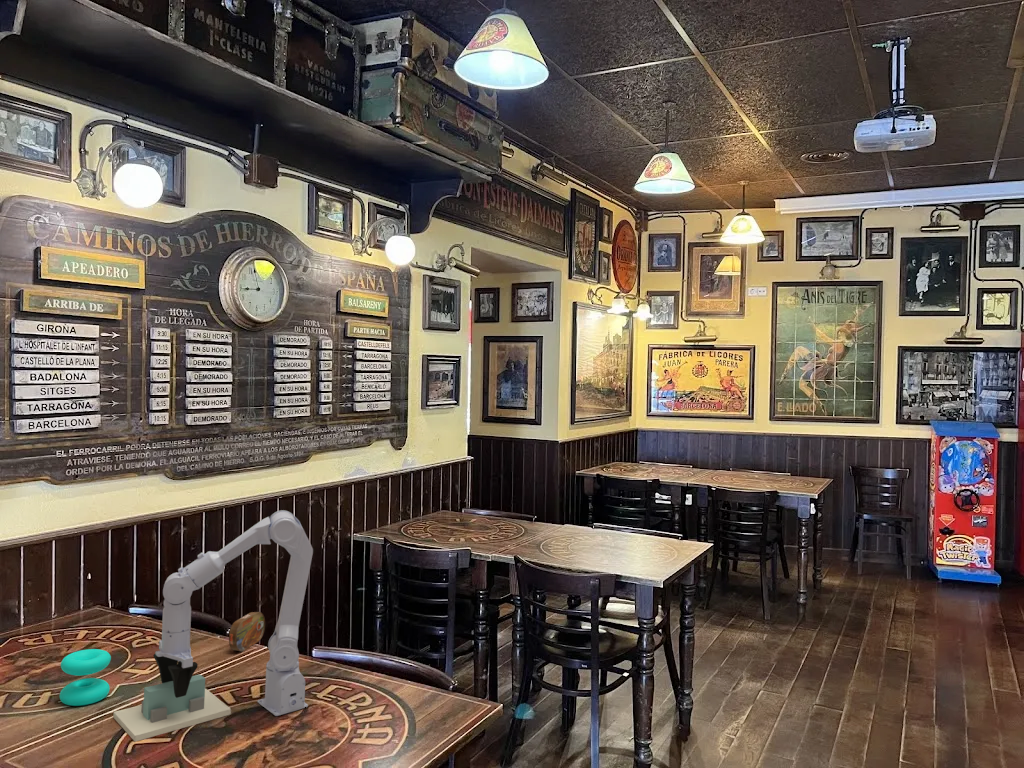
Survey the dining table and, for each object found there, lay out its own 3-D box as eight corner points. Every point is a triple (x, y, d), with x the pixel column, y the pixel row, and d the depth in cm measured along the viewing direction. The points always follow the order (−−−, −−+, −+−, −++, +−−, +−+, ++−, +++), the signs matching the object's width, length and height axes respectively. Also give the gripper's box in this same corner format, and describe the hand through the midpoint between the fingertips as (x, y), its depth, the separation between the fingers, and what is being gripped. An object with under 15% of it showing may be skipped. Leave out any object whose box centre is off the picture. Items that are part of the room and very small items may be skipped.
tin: (236, 656, 201) (237, 624, 201) (225, 654, 201) (227, 623, 201) (265, 637, 215) (267, 608, 215) (255, 636, 216) (257, 607, 216)
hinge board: (230, 714, 166) (231, 698, 166) (134, 741, 152) (135, 724, 152) (205, 693, 176) (206, 678, 176) (113, 717, 163) (114, 700, 162)
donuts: (71, 666, 164) (53, 654, 170) (69, 712, 164) (52, 698, 170) (118, 655, 172) (100, 644, 178) (116, 698, 172) (98, 685, 178)
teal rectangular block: (204, 705, 168) (205, 678, 168) (147, 720, 159) (148, 692, 159) (198, 700, 170) (200, 674, 170) (142, 715, 162) (144, 687, 162)
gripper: (145, 623, 167) (143, 684, 167) (169, 641, 156) (167, 706, 156) (178, 617, 172) (176, 676, 172) (203, 634, 161) (201, 697, 161)
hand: (174, 690), depth 164 cm, fingers open, 7 cm apart
